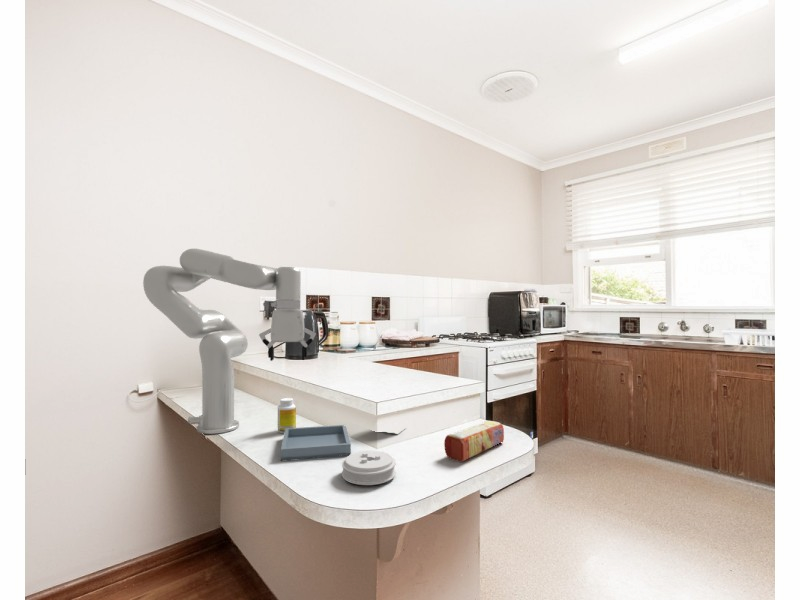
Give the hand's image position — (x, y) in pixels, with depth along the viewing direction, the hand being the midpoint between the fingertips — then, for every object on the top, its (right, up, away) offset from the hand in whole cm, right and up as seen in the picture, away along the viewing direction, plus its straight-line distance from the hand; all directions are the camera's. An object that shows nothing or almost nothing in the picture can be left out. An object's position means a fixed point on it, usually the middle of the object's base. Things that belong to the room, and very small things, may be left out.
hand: (287, 359), depth 129 cm
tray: (+12, -23, -13) cm, 29 cm away
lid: (+28, -23, -33) cm, 49 cm away
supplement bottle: (0, -23, 0) cm, 23 cm away
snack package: (+57, -23, -16) cm, 63 cm away
